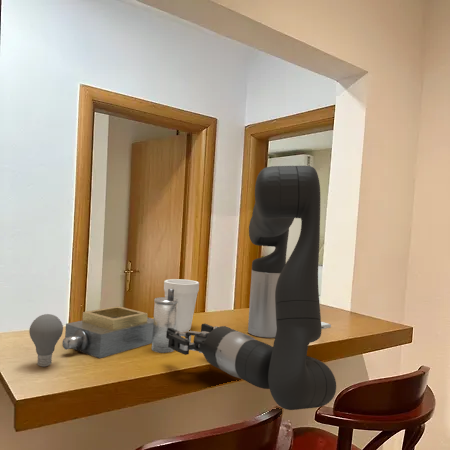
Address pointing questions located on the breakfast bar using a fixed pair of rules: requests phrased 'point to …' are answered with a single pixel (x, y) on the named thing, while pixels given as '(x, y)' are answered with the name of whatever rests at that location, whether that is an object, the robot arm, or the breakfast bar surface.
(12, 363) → the breakfast bar surface
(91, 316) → the gearbox
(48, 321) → the light bulb
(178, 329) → the foam cup
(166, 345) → the spout can
